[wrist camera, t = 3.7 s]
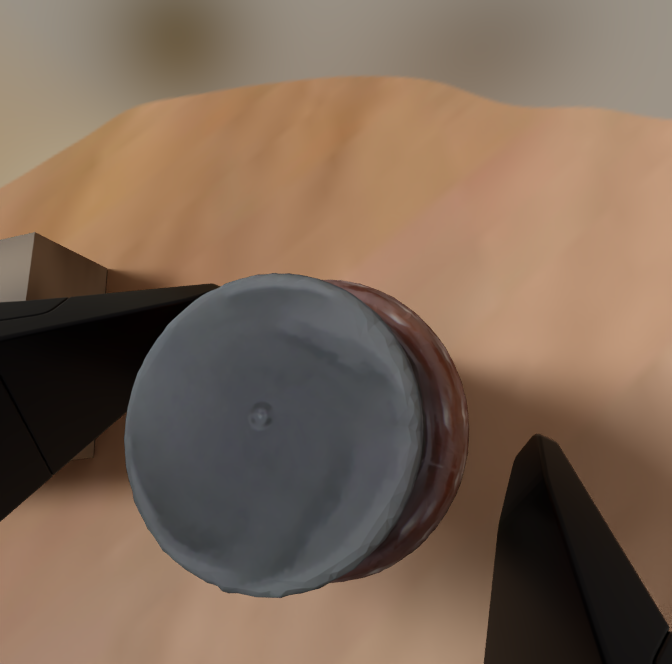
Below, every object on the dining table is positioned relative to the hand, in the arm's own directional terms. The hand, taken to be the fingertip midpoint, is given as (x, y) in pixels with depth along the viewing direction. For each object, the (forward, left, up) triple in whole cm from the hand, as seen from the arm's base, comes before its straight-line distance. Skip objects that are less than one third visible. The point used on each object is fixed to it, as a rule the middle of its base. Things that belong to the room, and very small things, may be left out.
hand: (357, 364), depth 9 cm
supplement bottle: (-1, +1, -7) cm, 7 cm away
